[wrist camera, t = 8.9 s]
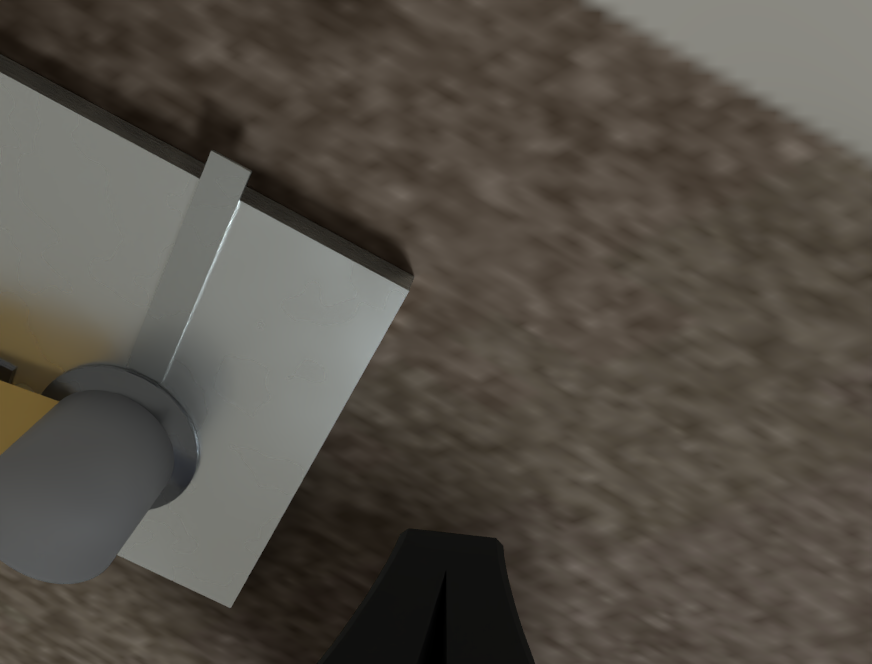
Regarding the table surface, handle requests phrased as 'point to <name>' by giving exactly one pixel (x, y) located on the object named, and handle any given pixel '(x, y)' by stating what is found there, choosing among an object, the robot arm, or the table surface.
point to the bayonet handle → (75, 479)
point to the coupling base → (180, 317)
